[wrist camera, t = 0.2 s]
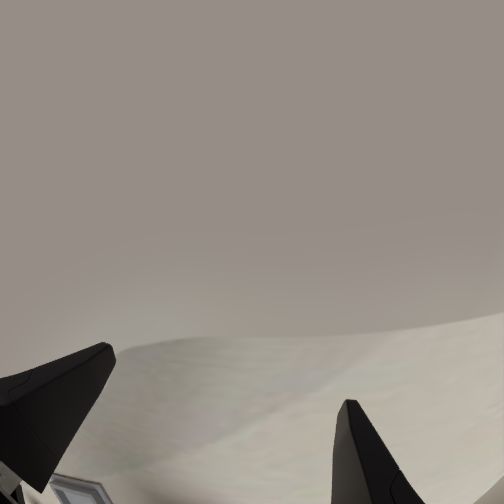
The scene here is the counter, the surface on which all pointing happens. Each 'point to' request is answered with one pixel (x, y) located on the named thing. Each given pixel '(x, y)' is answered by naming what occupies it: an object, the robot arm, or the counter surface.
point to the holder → (78, 491)
